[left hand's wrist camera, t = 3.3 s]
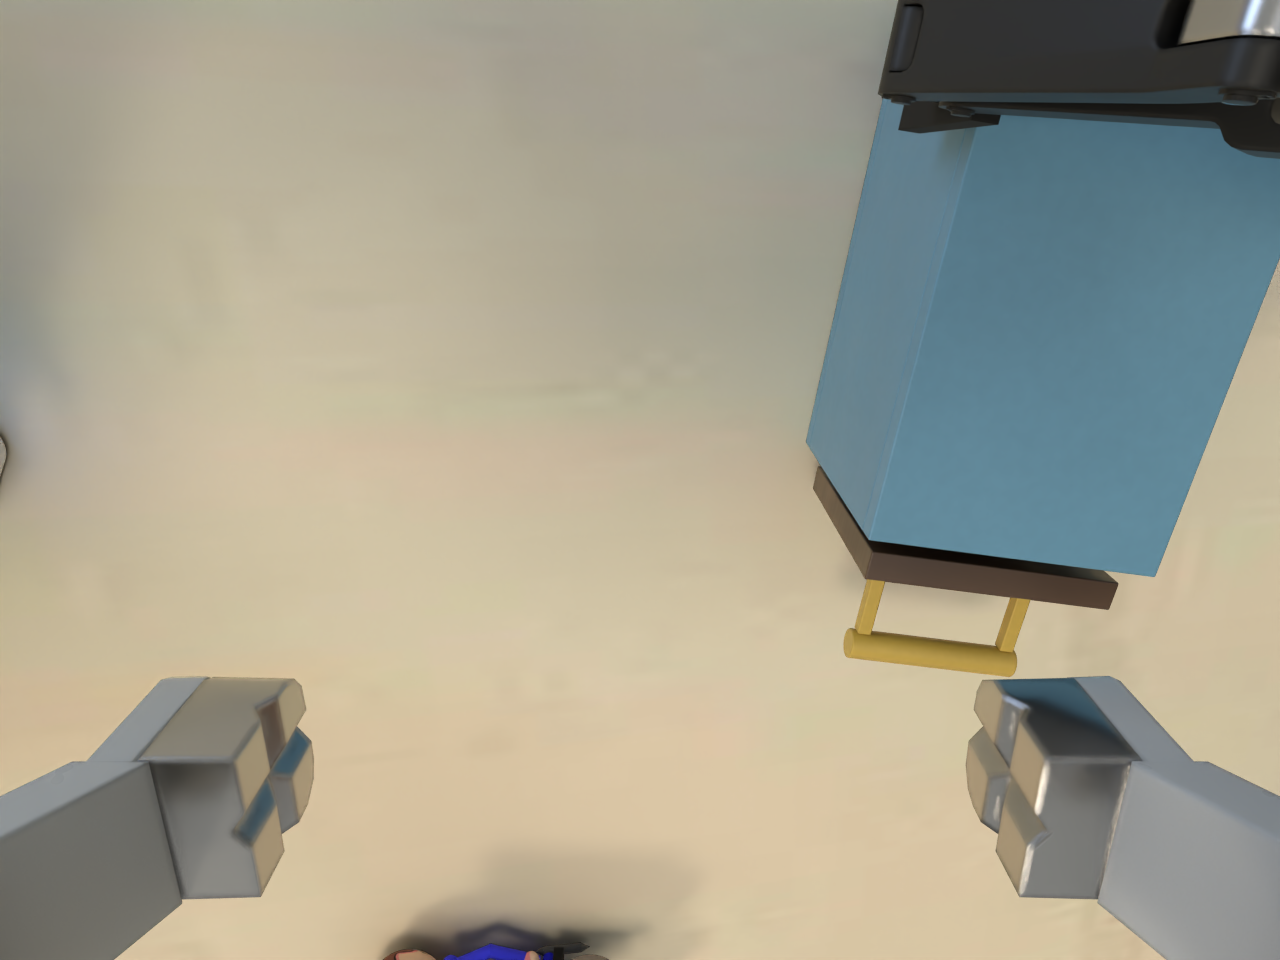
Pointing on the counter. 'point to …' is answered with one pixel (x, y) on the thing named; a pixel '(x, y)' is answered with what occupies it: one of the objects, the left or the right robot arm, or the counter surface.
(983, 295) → the cabinet
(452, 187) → the counter surface
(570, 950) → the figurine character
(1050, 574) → the drawer
